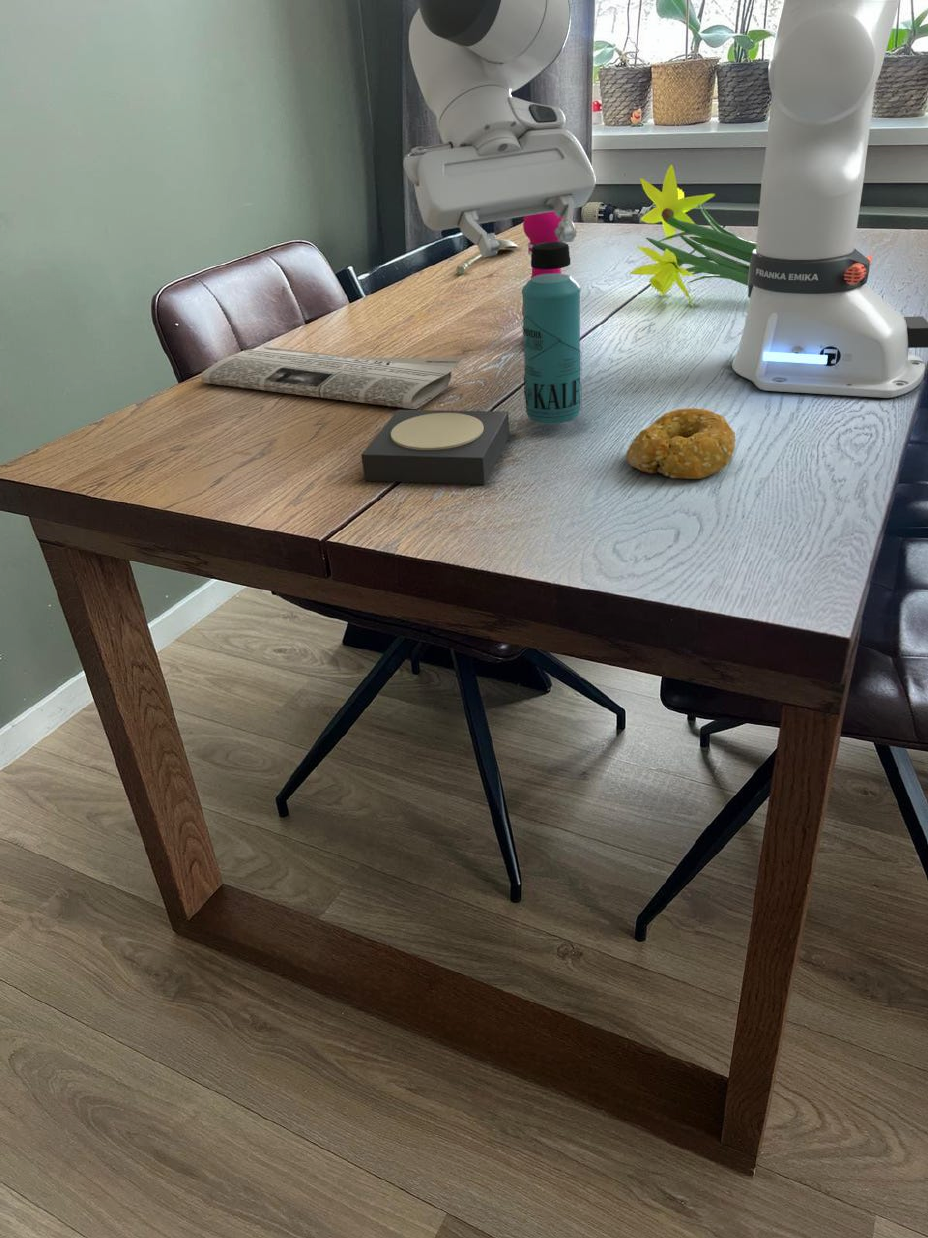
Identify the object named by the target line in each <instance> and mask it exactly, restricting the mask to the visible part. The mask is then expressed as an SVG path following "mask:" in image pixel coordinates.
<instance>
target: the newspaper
mask: <svg viewBox="0 0 928 1238" xmlns="http://www.w3.org/2000/svg"><path fill="white" fill-rule="evenodd" d="M461 361H462V358H461V357H458V358H457V357H443V358H442V357H353V356H346V355H337V354H327V353H318V352H311V351H302V350H296V349H295V350H293V349H286V348H279V347H278V348H276V347H270V346H269V347H268V346H264V348H262V349H261V348H260V349H250V348H249V349H247V350H242V351H239V352H237V353H234V354H232V355H229V356H227V357H224V358H223V359H220V360H217V362H215V363H214V364H212V365H210V366H209V367H207V368H206V369H205V370H203V371H202V373H201V376H200V378H201V382H202V383H204V384H213V385H219V386H227V387H235V388H243V389H252V390H259V391H260V390H261V391H267V392H274V393H283V394H292V395H299V396H307V397H315V398H323V399H329V400H337V401H338V400H340V401H345V402H354V403H363V404H370V405H379V406H385V407H395V408H401V409H408V410H418V409H419V408H421V407H422V406H424V405H425V404H427V403H429V402H430V401H432V400H433V399H434V398H435V397H437V396H438V395H440V394H441V393H443V391H445V390H446V389H448V387H449V384H450V382H451V379H452V371H454V370H455V369H457V367H458V365H459V364H460V363H461Z"/></svg>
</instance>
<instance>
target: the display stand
mask: <svg viewBox="0 0 928 1238" xmlns="http://www.w3.org/2000/svg"><path fill="white" fill-rule="evenodd" d="M509 439H510V421H509V411H506V410H505V411H503V410H500V411H499V410H494V411H493V410H445V409H444V410H439V409H438V410H436V409H435V410H432V409H431V410H430V409H396V411H395V412H394V413H393V415H392V416H391V417H390V419H389V420H388V421H387V422H386V423H385V425H384V426H383V427H382V428H381V430H380V431H379V432H378V434H376V436H375V437H374V438H373V440H372V441H371V442H370V443H369V444H368V445H367V446H366V448H365V450H363V452H362V453H361V464H362V469H363V471H362V472H363V476H364V481H365V482H385V483H386V482H388V483H389V482H390V483H417V484H418V483H419V484H420V483H421V484H445V485H448V484H449V485H474V486H476V485H477V486H485V485H486V483H487V481H488V479H489V477H490V475H491V474H492V471H493V470H494V468H495V466H496V464H497V462H498V460H499V457H500V456H501V454H502V451H503V450H504V449H505V446H506V444H507V442H508V440H509Z"/></svg>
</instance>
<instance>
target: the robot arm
mask: <svg viewBox="0 0 928 1238" xmlns="http://www.w3.org/2000/svg"><path fill="white" fill-rule="evenodd" d="M900 1H901V0H783V3H782V7H781V13H780V16H779V21H778V24H777V28H776V32H775V37H774V41H773V45H772V50H771V52H770V53H771V54H770V58H769V62H768V75H767V76H768V77H767V79H768V86H769V90H770V94H771V100H770V111H769V118H768V128H767V135H766V136H767V137H766V143H765V144H766V145H765V153H764V161H763V168H762V175H761V187H760V194H759V195H760V197H759V206H758V207H759V208H758V218H757V219H758V220H757V230H756V231H757V232H756V240H755V241H756V242H755V243H756V249H755V250H753V252H752V256H751V262H750V263H749V266H750V267H749V276H748V286H747V293H748V294H747V296H748V298H749V302H748V306H747V311H746V312H747V314H746V317H745V321H744V326H743V330H742V334H741V335H742V336H741V338H740V341H739V344H738V348H737V350H736V353H735V356H734V358H733V361H732V363H731V368H732V370H733V371H734V372H735V374H738V375H739V376H741V377H742V378H745V379H747V380H749V381H751V382H752V383H753V384H754V385H755V386H756V388H758V389H759V390H762V391H766V392H768V391H769V392H781V393H782V392H785V393H797V394H798V393H799V394H801V393H802V394H813V395H814V394H818V395H830V396H831V395H832V396H833V395H835V396H847V397H848V396H849V397H867V398H883V399H890V398H896V397H900V396H902V395H905V394H907V393H910V392H911V391H913V390H914V389H915V388H916V387H918V386H919V385H920V384H921V382H922V381H923V379H924V378H925V374H926V364H925V361H924V360H923V359H922V358H921V357H919V356H918V355H915V354H909V349H927V348H928V321H927V319H926V318H925V317H924V316H923V315H920V316H919V315H918V316H903V315H902V314H901V313H900V312H899V311H898V310H896V309H895V307H893V306H892V305H890V304H889V303H888V302H887V301H886V300H885V299H884V298H882V296H880V295H879V294H878V293H877V292H876V291H875V290H874V289H872V287H870V286H869V285H868V284H867V283H868V279H869V273H870V268H871V267H870V266H871V265H872V262H871V261H872V260H873V255H872V254H869V255H868V256H867V257H866V256H865V255H864V254H863V253H861V252H860V251H859V250H857V249H856V248H855V244H856V237H857V230H858V223H859V215H860V209H861V202H862V195H863V188H864V181H865V173H866V172H865V171H866V162H867V155H868V147H869V146H868V145H869V138H870V129H871V123H872V113H873V105H874V98H875V90H876V85H877V82H878V80H879V77H880V74H881V71H882V67H883V63H884V61H885V57H886V53H887V49H888V45H889V42H890V38H891V35H892V30H893V27H894V24H895V19H896V16H897V12H898V9H899V4H900ZM417 3H418V9H417V10H416V12H415V13H414V15H413V16H412V17H413V18H412V20H411V22H410V25H409V30H408V51H409V56H410V61H411V65H412V69H413V72H414V75H415V77H416V80H417V83H418V86H419V89H420V90H421V94H422V96H423V98H424V101H425V103H426V106H427V107H428V108H429V110H430V111H431V112H432V113H433V114H434V116H435V118H436V119H435V120H436V129H437V132H438V135H439V137H440V139H441V143H437V144H433V145H429V146H421V145H420V146H416V147H413V148H411V150H410V152H408V153H407V154H405V156H404V158H403V163H402V165H403V169H404V171H405V174H406V176H407V178H408V180H409V182H411V184H413V186H414V194H415V198H416V202H417V206H418V209H419V213H420V216H421V219H422V222H423V224H424V225H425V227H428V228H429V229H430V230H432V231H433V232H439V231H445V230H450V229H451V230H452V229H456V228H457V229H458V228H459V230H460V232H461V234H462V235H463V236H464V237H465V238H466V239H468V240H469V241H470V242H472V243H473V244H474V245H475V246H477V247H478V250H479V252H480V253H481V255H482V257H481V258H489V257H494V256H497V255H498V252H499V250H500V249H499V243H498V241H497V240H496V239H497V236H496V234H495V232H489V233H488V232H487V231H486V230H485V229H483V228H482V227H481V226H480V225H481V224H487V223H492V222H498V221H505V220H510V219H517V218H524V217H525V216H529V215H535V214H541V213H547V212H553V211H555V214H556V216H557V217H558V218H559V217H561V216H562V221H560V222H559V224H558V227H557V228H556V230H555V234H556V236H557V237H558V238H559V239H558V241H559V242H563V243H567V244H568V243H572V242H574V240H575V238H576V236H577V228H576V227H575V224H574V221H573V217H574V211H575V209H577V208H582V207H584V206H585V205H586V204H587V202H588V201H589V199H590V198H591V196H592V193H593V191H594V190H595V187H596V183H597V177H596V174H595V170H594V168H593V167H592V165H591V162H590V159H589V158H588V156H587V154H586V152H585V150H584V149H583V146H582V145H581V143H580V141H579V140H578V139H577V138H576V136H575V135H574V134H573V133H572V132H570V131H569V130H567V129H564V127H565V124H566V116H565V113H564V111H562V109H561V108H559V107H557V106H553V105H546V104H541V103H536V102H531V101H528V100H524V99H521V98H518V97H516V96H512V94H513V93H515V92H517V91H518V90H519V91H520V90H521V89H522V88H524V87H525V86H526V85H528V84H529V83H530V82H532V81H533V80H534V79H536V78H537V77H538V76H539V75H540V74H542V73H543V72H544V71H546V70H547V69H548V68H549V67H551V65H552V64H553V63H554V62H555V61H556V59H558V57H559V56H560V54H561V52H562V51H563V49H564V47H565V45H566V42H567V40H568V36H569V32H570V28H571V16H572V15H571V4H570V0H417Z"/></svg>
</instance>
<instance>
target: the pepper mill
mask: <svg viewBox="0 0 928 1238" xmlns="http://www.w3.org/2000/svg"><path fill="white" fill-rule="evenodd" d="M560 221H562V216H561V217H559V218H558V217H557V216H556V214H555V211H553V212H547V213H541V214H535V215H529V216H523V221H522V229H523V233H524V235H525V236H526V237H527V238H528V240H529V242H527V247H528V248H527V249H528V250H527V254H528V255H529V256H530V258H532V247H533V246H534V245H536V244H539V243H545V242H559V241H558V239H559V238H558V237H557V236H556V234H555V230H556V228H557V227H558V224H559V222H560ZM552 273H558V274H563V272H562V268H558V269H536V268H533V267H531V276H530V279H531V278H533V277H534V276H537V275H542V274H552ZM521 314H522V316H523V304H522V308H521Z"/></svg>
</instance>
